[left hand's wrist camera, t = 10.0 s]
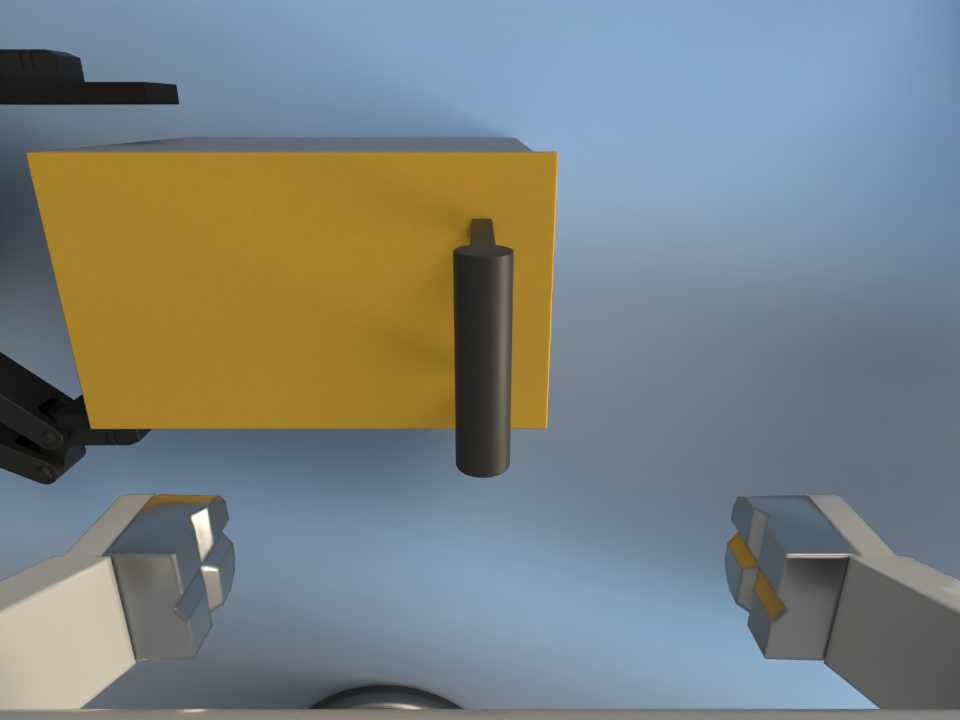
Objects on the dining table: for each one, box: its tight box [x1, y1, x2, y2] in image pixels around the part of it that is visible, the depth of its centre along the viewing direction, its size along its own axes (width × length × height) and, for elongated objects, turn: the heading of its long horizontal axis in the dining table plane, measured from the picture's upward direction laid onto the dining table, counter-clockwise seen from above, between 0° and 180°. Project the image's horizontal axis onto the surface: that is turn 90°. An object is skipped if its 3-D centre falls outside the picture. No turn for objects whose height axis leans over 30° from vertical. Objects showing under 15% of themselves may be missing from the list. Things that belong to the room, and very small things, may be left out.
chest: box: [51, 138, 534, 152], centre depth 29 cm, size 17×10×11 cm, turn 90°
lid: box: [26, 151, 558, 478], centre depth 20 cm, size 17×10×8 cm, turn 90°
